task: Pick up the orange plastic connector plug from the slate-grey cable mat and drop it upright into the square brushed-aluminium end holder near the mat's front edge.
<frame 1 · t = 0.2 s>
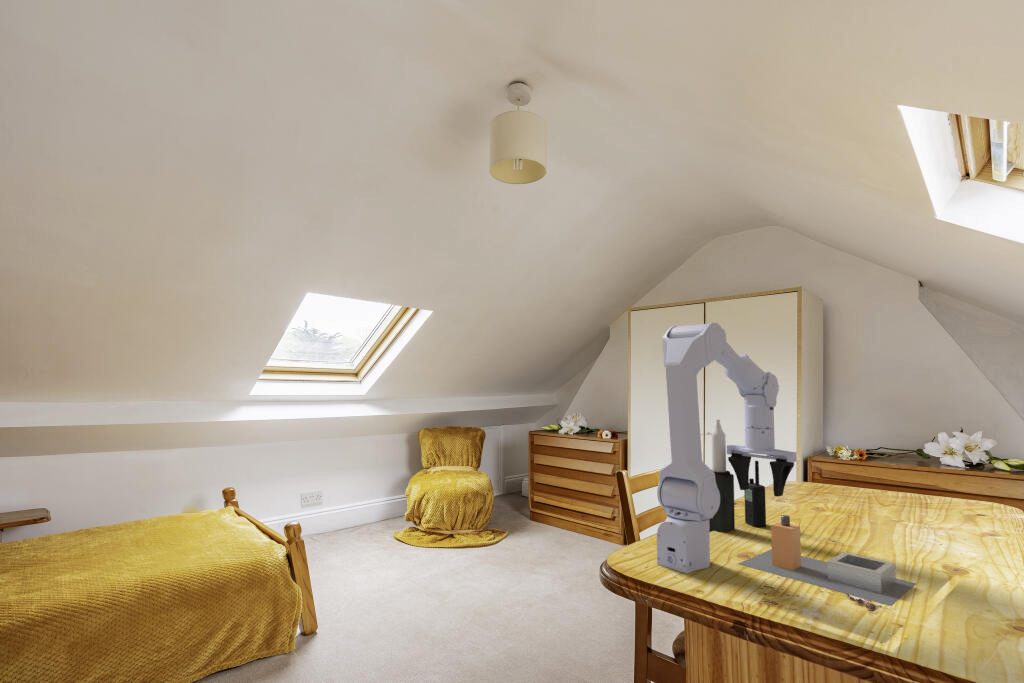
hand: (760, 492, 113), 10 cm above the table, fingers open, 7 cm apart
end holder: (861, 586, 87), resting on cable mat
cable mat: (822, 577, 91), on the table
black nozzle bottle: (720, 533, 118), on the table
walkie-talkie: (756, 525, 125), on the table
connector plug: (786, 565, 94), point 1 cm above the table, touching cable mat
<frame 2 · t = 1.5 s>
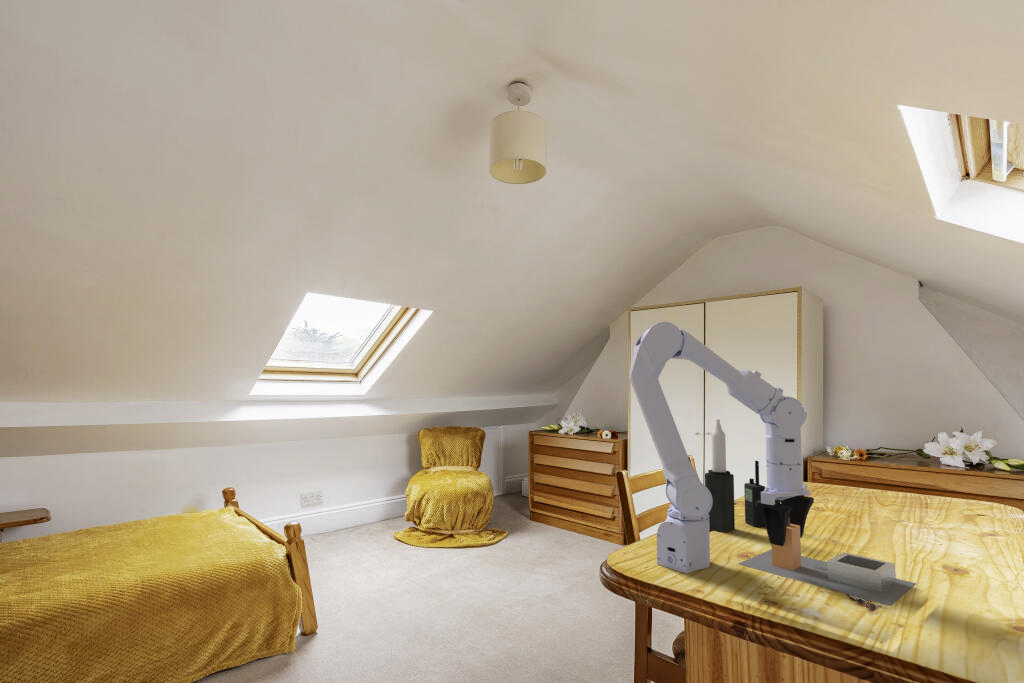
hand: (786, 540, 95), 5 cm above the table, fingers open, 7 cm apart
nothing on the table moved.
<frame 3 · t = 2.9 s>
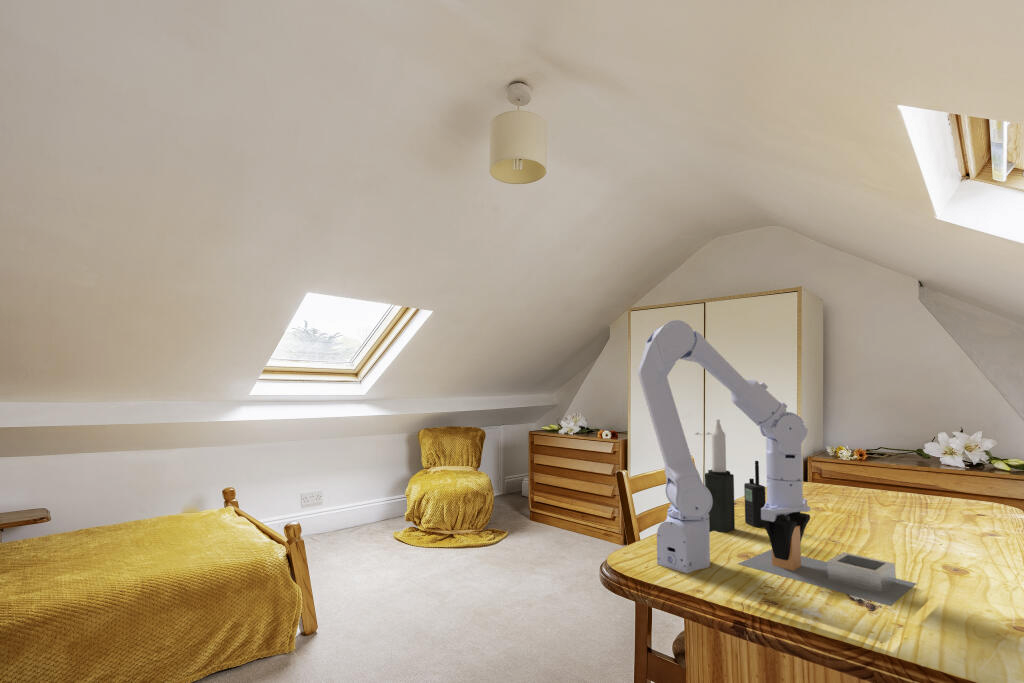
hand: (786, 556, 94), 2 cm above the table, fingers closed on connector plug, 3 cm apart
connector plug: (786, 565, 94), point 1 cm above the table, touching cable mat, gripper
everything else where it was.
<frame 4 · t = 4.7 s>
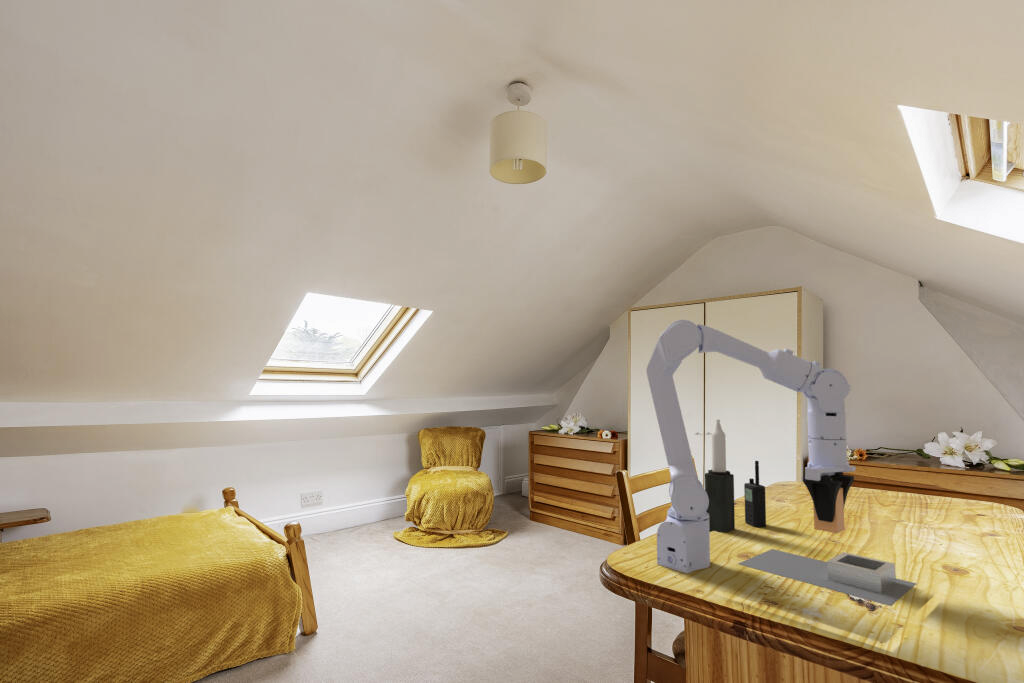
hand: (830, 519, 91), 10 cm above the table, fingers closed on connector plug, 3 cm apart
connector plug: (829, 529, 91), point 8 cm above the table, touching gripper
everything else where it was.
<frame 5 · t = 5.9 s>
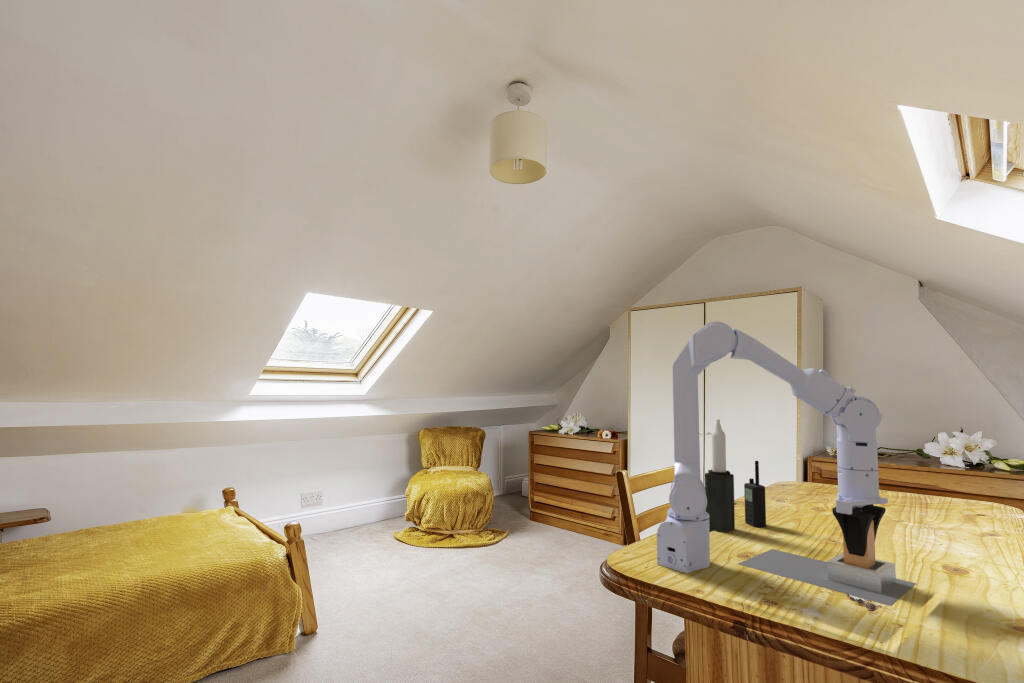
hand: (860, 552, 87), 5 cm above the table, fingers closed on connector plug, 3 cm apart
connector plug: (859, 563, 88), point 4 cm above the table, touching gripper
everything else where it was.
when the fingers open (5 cm above the table, at t = 6.8 s): connector plug drops 2 cm, resting on cable mat.
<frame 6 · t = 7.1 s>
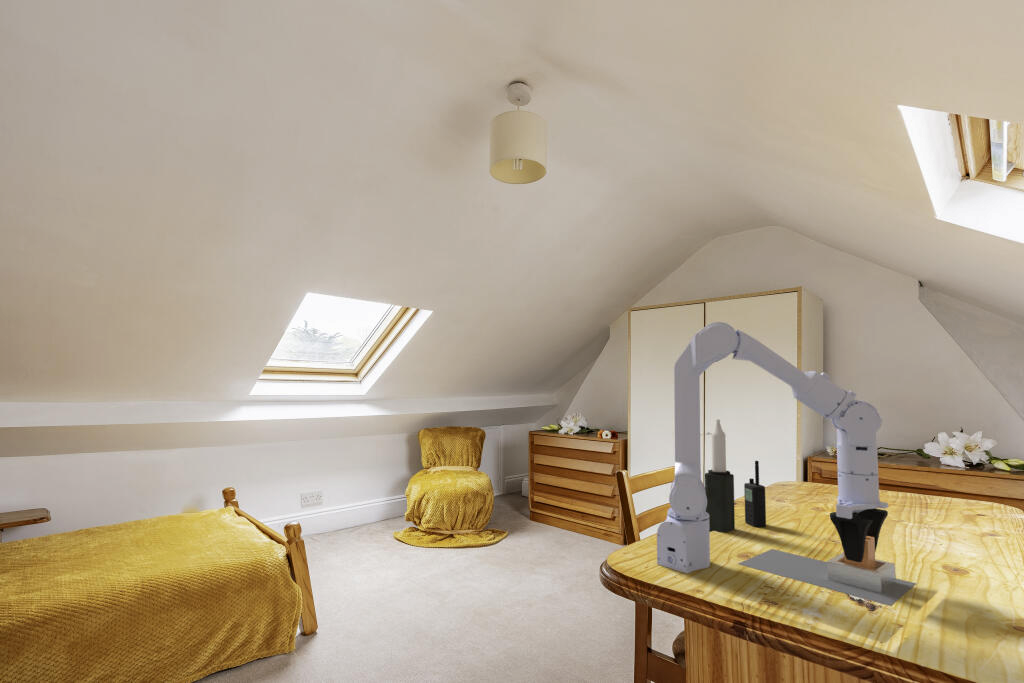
hand: (860, 556, 87), 5 cm above the table, fingers open, 6 cm apart
connector plug: (860, 580, 87), point 1 cm above the table, touching cable mat
everything else where it was.
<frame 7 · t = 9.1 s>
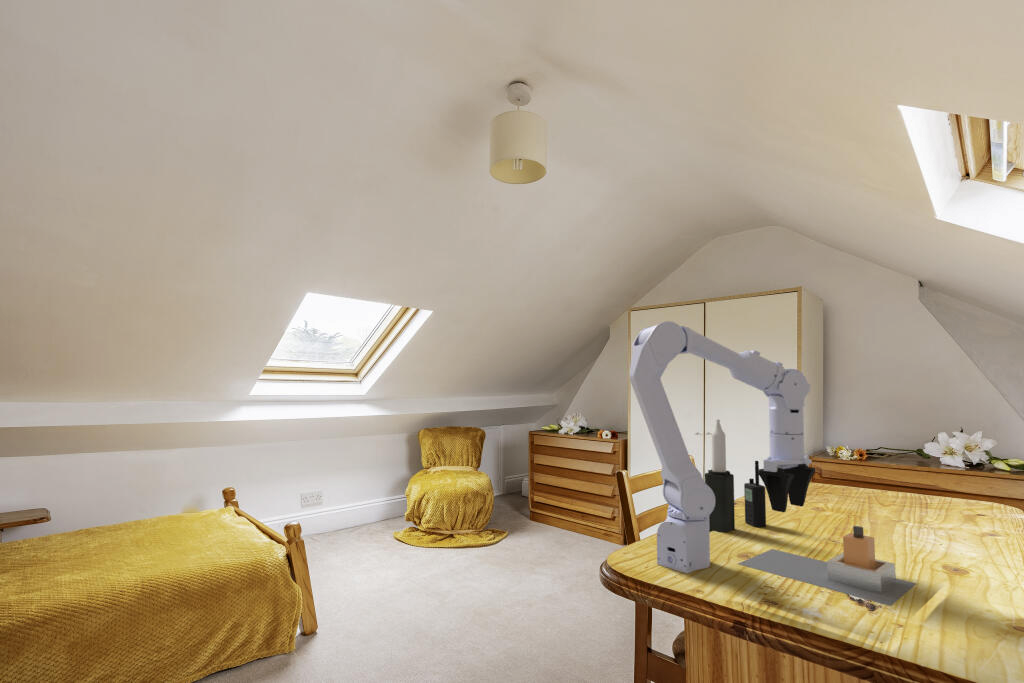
hand: (788, 508, 98), 10 cm above the table, fingers open, 7 cm apart
nothing on the table moved.
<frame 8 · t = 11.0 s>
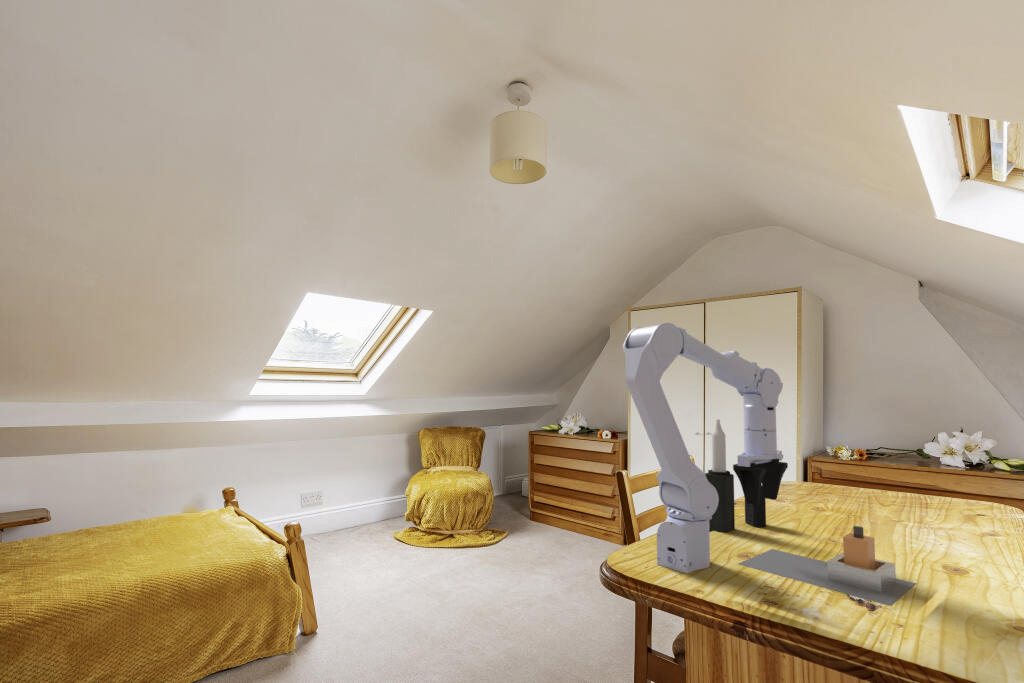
hand: (761, 501, 102), 10 cm above the table, fingers open, 7 cm apart
nothing on the table moved.
at the end: connector plug 0.2 cm off-centre on the end holder, point 0.8 cm above the end holder's base; connector plug tilted 0°; the gripper is holding nothing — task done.
